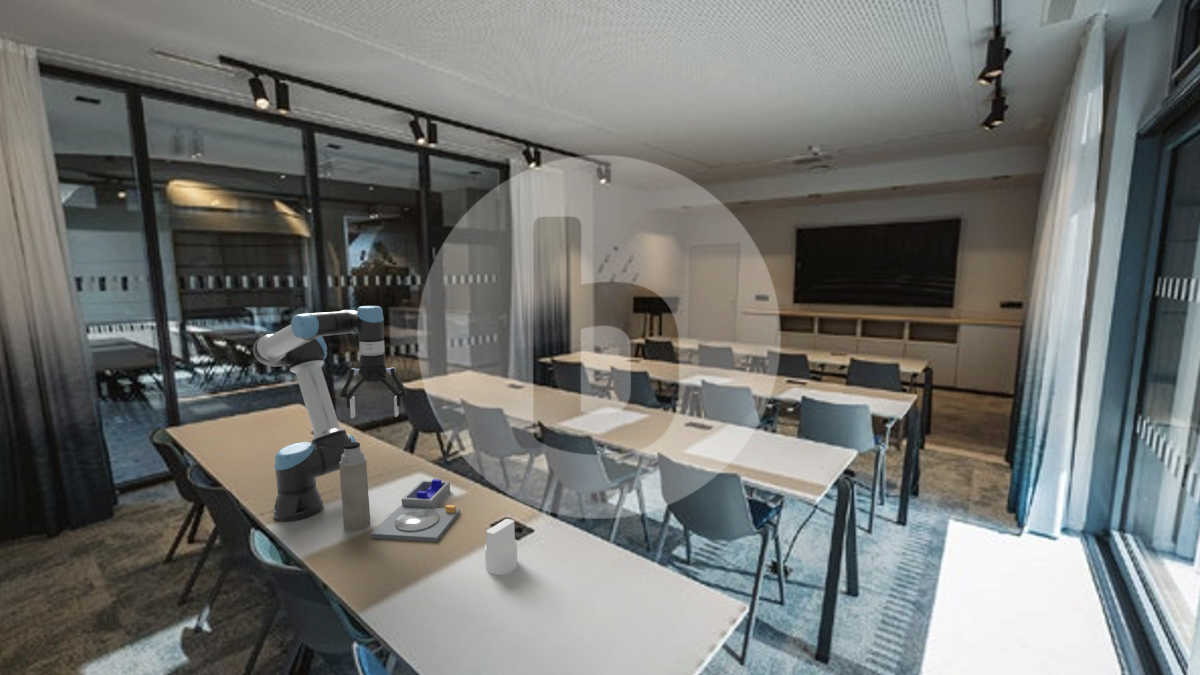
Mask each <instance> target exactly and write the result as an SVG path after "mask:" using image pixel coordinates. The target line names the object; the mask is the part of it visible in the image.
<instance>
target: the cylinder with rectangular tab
mask: <svg viewBox="0 0 1200 675" xmlns="http://www.w3.org/2000/svg"><path fill="white" fill-rule="evenodd" d="M515 532H516V531H515V521H514V520H513V519H510V518H505V519H503V520H502V521H501V522H498V523H496V524H494V525H493V526H491V527H490V528H488V529H486V530H485V546H484V561H485V562H484V566H485V567H484V568H485V570H486V571H487V573H489V574H491V575H492V574H493V575H495V576H496V575H497V576H499V575H506V574H509V573H511V572H513V571H514V570H515V569H516V568H517V567H518V544H517V541H516V539H515V537H516V536H515Z"/></svg>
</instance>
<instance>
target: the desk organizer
mask: <svg viewBox="0 0 1200 675" xmlns="http://www.w3.org/2000/svg"><path fill="white" fill-rule="evenodd" d="M450 483H451V482H450V481H443V480H441V485H442V487H441V488H440V489H439V490H438V491H437V492H436V493H435V494H434V495H433V497H432V498H431V499H419V498H417V492H418V491H427V489H428V488H429V487H430V486H432V480H420V482H419V483H418V484H416V485H415V486H414V487H413V488H412V489H411V490H410V491H408V492H407V494H405V495H404V496H403V497H402V498H401V506H405V507H424V508H437V507H438V506H439V504H440V503H441V502H442V501H443V500H444V499H445V498H446V497H447V496H448V495H449V494H450V493H451V484H450Z"/></svg>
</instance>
